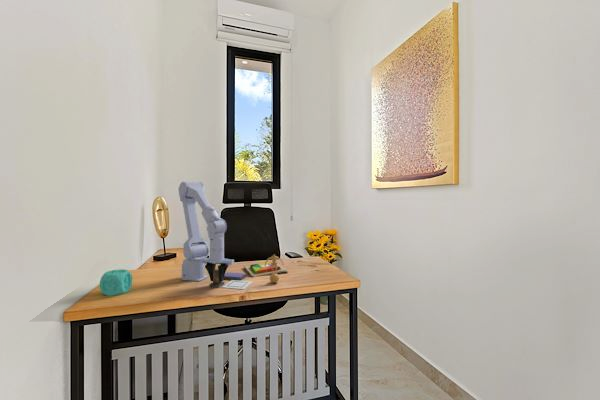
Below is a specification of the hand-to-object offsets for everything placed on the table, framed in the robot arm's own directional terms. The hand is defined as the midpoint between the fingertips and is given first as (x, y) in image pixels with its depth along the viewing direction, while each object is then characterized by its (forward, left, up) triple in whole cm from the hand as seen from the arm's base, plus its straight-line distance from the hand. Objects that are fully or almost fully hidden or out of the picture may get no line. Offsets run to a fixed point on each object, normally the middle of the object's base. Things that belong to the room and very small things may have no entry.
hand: (216, 281), depth 118 cm
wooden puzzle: (+12, +27, -3) cm, 30 cm away
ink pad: (+2, +12, -2) cm, 12 cm away
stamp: (0, 0, -2) cm, 2 cm away
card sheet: (+8, +3, -2) cm, 9 cm away
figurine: (+22, +10, -2) cm, 24 cm away
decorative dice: (-34, -16, -2) cm, 38 cm away
